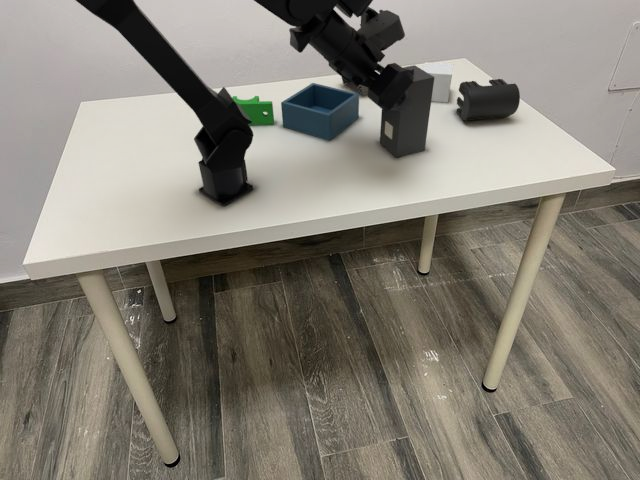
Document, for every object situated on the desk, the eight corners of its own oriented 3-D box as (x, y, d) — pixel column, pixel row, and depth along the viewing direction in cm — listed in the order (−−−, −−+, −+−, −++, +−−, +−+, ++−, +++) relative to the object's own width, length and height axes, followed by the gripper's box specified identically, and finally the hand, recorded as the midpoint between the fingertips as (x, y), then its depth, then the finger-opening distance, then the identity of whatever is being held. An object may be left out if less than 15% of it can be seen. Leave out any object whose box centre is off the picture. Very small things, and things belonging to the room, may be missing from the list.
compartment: (329, 140, 90) (329, 115, 86) (282, 126, 94) (280, 102, 91) (358, 117, 96) (359, 93, 93) (313, 105, 101) (312, 82, 98)
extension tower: (395, 158, 84) (402, 77, 75) (378, 143, 88) (383, 65, 79) (424, 150, 86) (435, 71, 77) (407, 135, 90) (415, 59, 81)
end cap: (465, 127, 92) (472, 94, 88) (453, 111, 98) (458, 79, 93) (514, 123, 93) (523, 89, 89) (499, 107, 98) (507, 75, 94)
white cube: (447, 102, 101) (452, 74, 97) (419, 100, 102) (422, 72, 98) (449, 91, 105) (453, 64, 101) (421, 89, 107) (425, 62, 103)
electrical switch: (379, 93, 105) (378, 52, 99) (360, 101, 103) (358, 59, 97) (354, 80, 111) (352, 40, 105) (336, 87, 110) (333, 47, 103)
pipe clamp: (275, 116, 98) (273, 95, 95) (273, 125, 95) (271, 103, 92) (221, 117, 98) (218, 95, 95) (218, 125, 95) (214, 103, 92)
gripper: (408, 11, 62) (464, 79, 72) (345, -19, 75) (400, 42, 85) (352, 82, 64) (414, 137, 75) (301, 41, 78) (359, 93, 88)
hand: (397, 99), depth 80 cm, fingers open, 9 cm apart
